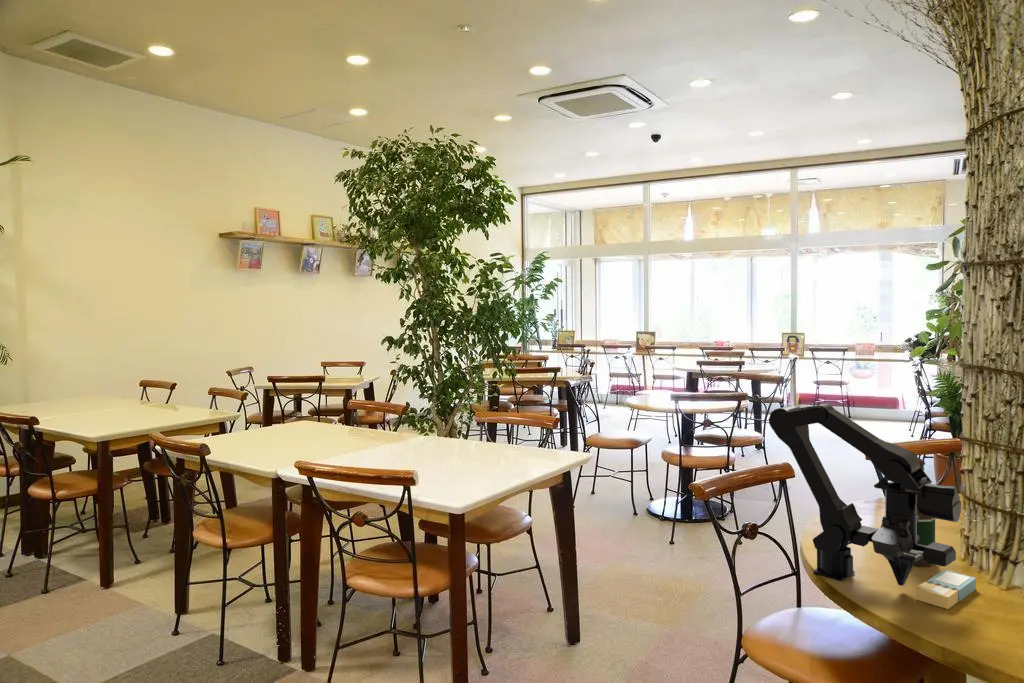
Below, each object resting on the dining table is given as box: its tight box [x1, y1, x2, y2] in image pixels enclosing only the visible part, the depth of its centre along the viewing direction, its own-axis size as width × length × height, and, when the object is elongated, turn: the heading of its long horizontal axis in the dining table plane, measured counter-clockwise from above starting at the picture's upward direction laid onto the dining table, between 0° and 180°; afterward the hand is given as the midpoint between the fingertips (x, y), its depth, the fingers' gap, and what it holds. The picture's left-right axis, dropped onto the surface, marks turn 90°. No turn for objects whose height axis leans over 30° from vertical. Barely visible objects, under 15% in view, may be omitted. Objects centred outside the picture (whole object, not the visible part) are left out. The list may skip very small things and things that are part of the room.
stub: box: [914, 580, 958, 610], centre depth 139 cm, size 6×5×2 cm
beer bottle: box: [913, 457, 936, 568], centre depth 159 cm, size 8×8×24 cm
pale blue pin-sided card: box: [926, 569, 977, 603], centre depth 144 cm, size 6×9×2 cm, turn 128°
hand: (901, 585), depth 145 cm, fingers closed
